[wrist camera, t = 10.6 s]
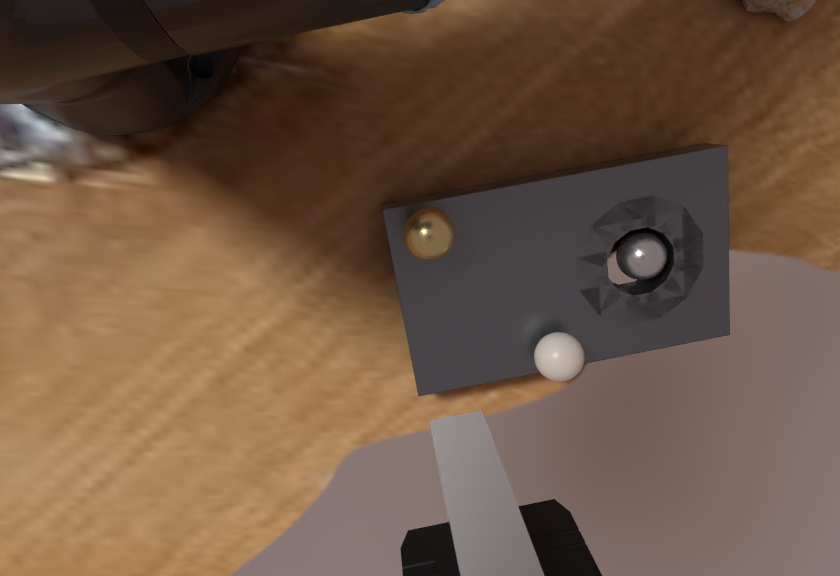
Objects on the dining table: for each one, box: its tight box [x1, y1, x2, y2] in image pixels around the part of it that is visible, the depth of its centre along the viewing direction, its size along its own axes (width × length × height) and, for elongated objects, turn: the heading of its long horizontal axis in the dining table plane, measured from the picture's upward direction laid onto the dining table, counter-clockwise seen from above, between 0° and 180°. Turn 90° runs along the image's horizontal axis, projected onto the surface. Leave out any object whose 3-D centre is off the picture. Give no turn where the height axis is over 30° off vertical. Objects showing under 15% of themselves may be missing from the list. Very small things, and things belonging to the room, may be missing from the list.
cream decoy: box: [534, 332, 584, 381], centre depth 39 cm, size 3×3×3 cm
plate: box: [382, 143, 730, 396], centre depth 40 cm, size 22×13×2 cm, turn 100°
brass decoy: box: [403, 208, 456, 262], centre depth 36 cm, size 3×3×3 cm
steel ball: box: [616, 232, 667, 280], centre depth 40 cm, size 3×3×3 cm
